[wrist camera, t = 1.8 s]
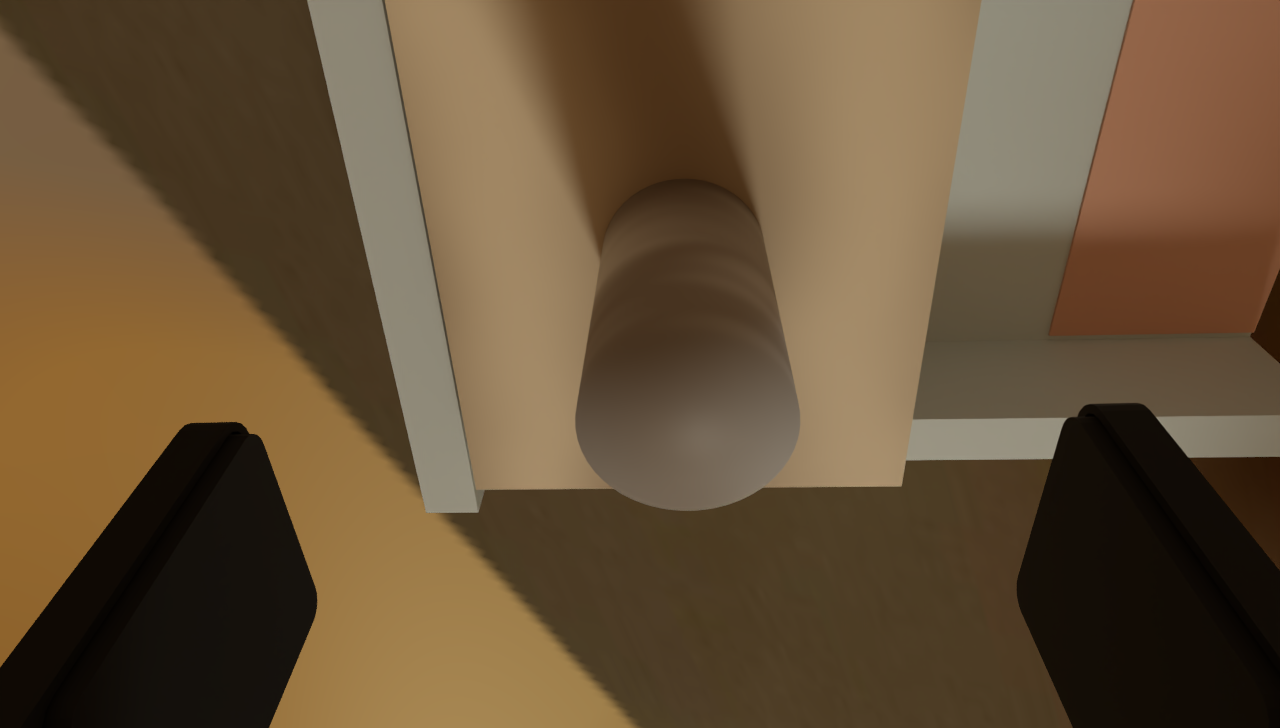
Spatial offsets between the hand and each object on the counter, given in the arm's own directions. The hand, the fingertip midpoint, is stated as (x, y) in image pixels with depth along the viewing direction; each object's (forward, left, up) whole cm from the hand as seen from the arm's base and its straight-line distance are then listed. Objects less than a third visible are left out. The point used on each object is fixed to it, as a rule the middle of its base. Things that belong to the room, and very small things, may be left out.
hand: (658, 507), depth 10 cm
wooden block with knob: (0, 0, -15) cm, 15 cm away
